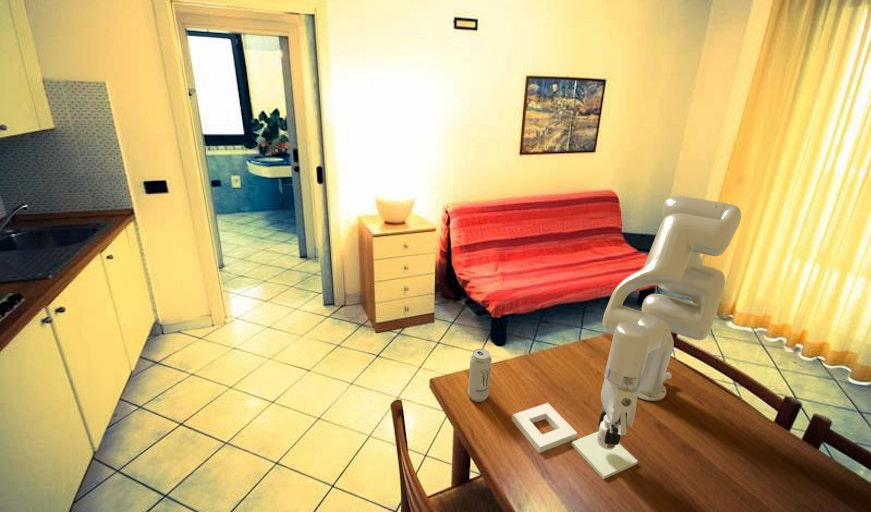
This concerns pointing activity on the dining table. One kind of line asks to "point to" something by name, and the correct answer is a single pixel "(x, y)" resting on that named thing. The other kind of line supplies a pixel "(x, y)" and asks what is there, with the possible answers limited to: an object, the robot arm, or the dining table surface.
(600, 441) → the pill bottle
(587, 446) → the pad
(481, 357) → the energy drink can
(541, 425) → the dining table surface
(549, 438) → the collar
